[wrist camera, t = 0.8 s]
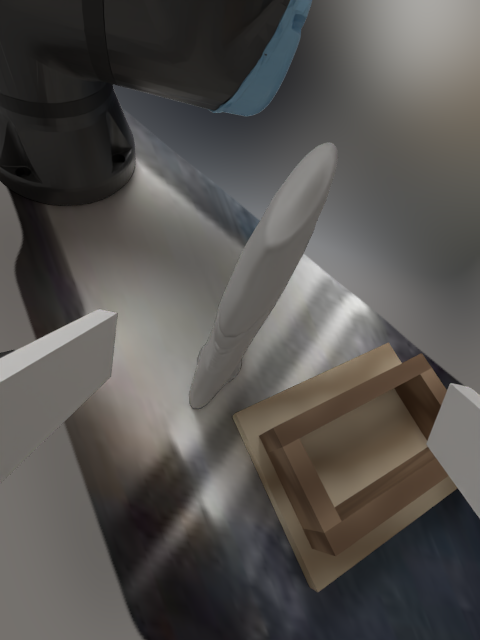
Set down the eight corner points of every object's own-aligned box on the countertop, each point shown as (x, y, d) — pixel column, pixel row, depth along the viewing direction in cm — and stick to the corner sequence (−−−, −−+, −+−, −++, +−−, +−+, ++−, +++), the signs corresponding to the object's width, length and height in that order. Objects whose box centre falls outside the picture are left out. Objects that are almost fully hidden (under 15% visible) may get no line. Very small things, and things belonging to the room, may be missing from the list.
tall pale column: (225, 310, 36) (309, 95, 17) (260, 329, 36) (386, 137, 17) (169, 400, 31) (199, 242, 12) (211, 424, 31) (309, 303, 12)
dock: (232, 416, 31) (246, 401, 27) (380, 347, 38) (413, 326, 33) (309, 587, 27) (344, 607, 22) (462, 476, 34) (513, 472, 29)
